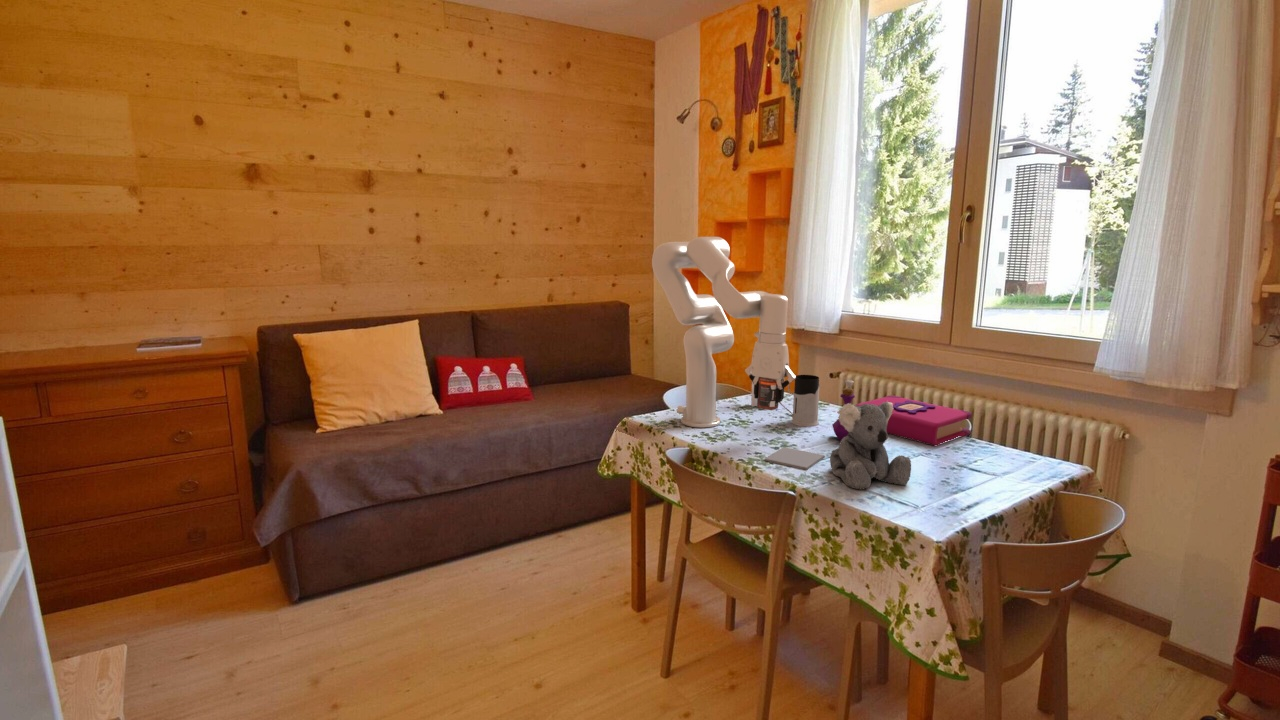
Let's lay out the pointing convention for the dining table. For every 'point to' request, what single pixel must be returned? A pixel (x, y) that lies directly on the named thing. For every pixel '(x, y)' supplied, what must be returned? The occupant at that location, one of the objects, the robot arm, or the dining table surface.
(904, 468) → the koala plush
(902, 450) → the dining table surface
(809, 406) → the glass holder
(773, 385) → the supplement bottle
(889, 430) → the book
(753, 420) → the dining table surface
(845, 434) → the perfume bottle
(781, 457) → the grey mat
